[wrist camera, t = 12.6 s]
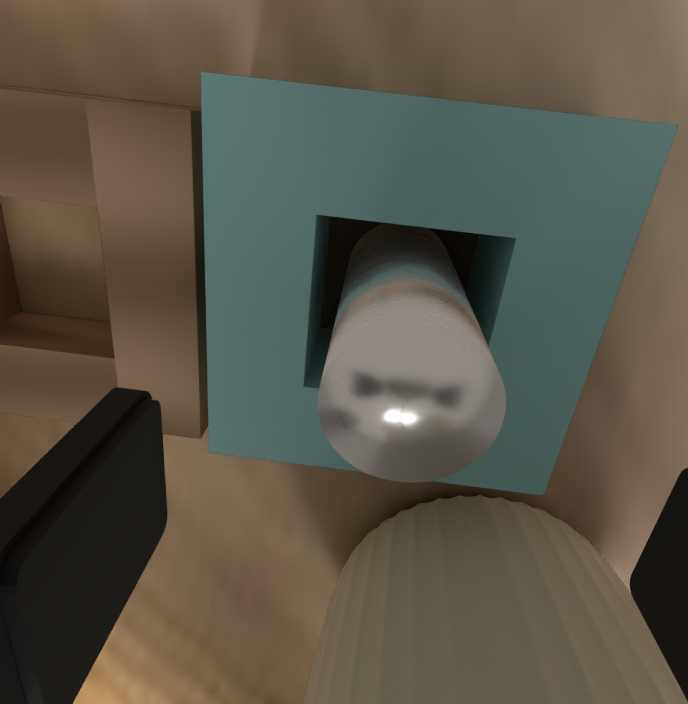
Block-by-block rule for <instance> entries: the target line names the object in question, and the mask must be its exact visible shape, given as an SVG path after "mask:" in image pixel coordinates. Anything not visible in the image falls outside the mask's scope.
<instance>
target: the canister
mask: <svg viewBox="0 0 688 704" xmlns="http://www.w3.org/2000/svg"><path fill="white" fill-rule="evenodd" d="M303 704H688V701H687V700H686V698H685V696H684V694H683V692H682V690H681V688H680V686H679V684H678V683H677V681H676V679H675V677H674V675H673V673H672V671H671V669H670V667H669V665H668V664H667V662H666V660H665V658H664V656H663V654H662V652H661V650H660V648H659V647H658V645H657V643H656V641H655V639H654V637H653V635H652V633H651V631H650V629H649V628H648V626H647V624H646V622H645V620H644V618H643V616H642V614H641V612H640V611H639V609H638V607H637V605H636V603H635V601H634V599H633V597H632V595H631V593H630V592H629V590H628V589H627V587H626V586H625V585H624V583H623V582H622V580H621V579H620V578H619V576H618V575H617V574H616V572H615V571H614V570H613V568H612V567H611V566H610V565H609V563H608V562H607V561H606V560H605V559H604V558H603V557H602V556H601V555H600V553H599V552H598V551H597V550H596V548H595V547H594V546H593V545H592V544H591V543H590V542H589V541H588V540H587V539H586V538H585V537H583V536H582V535H580V534H579V533H578V532H576V531H575V530H574V529H573V528H572V527H571V526H569V525H568V524H567V523H565V522H564V521H562V520H560V519H558V518H554V517H553V516H551V515H550V514H549V513H547V512H546V511H544V510H541V509H537V508H531V507H530V506H529V505H527V504H525V503H523V502H512V501H508V500H506V499H504V498H502V497H497V498H487V497H484V496H482V495H477V496H474V497H463V496H460V495H458V496H456V497H454V498H449V499H442V498H438V499H436V500H435V501H432V502H429V503H419V504H417V505H416V506H415V507H413V508H411V509H408V510H401V511H400V512H399V513H398V514H397V515H396V516H394V517H392V518H389V519H386V520H384V521H383V522H382V523H381V524H380V525H379V527H378V528H377V529H374V530H372V531H370V532H369V533H368V534H367V535H366V536H365V538H364V539H363V541H362V542H361V543H360V544H359V545H357V546H356V548H355V549H354V550H353V551H352V553H351V555H350V557H349V559H348V561H347V562H346V564H345V565H344V567H343V568H342V570H341V572H340V574H339V577H338V579H337V582H336V585H335V588H334V591H333V595H332V597H331V600H330V603H329V607H328V610H327V614H326V617H325V621H324V625H323V629H322V632H321V636H320V640H319V644H318V647H317V651H316V655H315V659H314V662H313V666H312V670H311V674H310V678H309V681H308V685H307V689H306V693H305V698H304V702H303Z"/></svg>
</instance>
